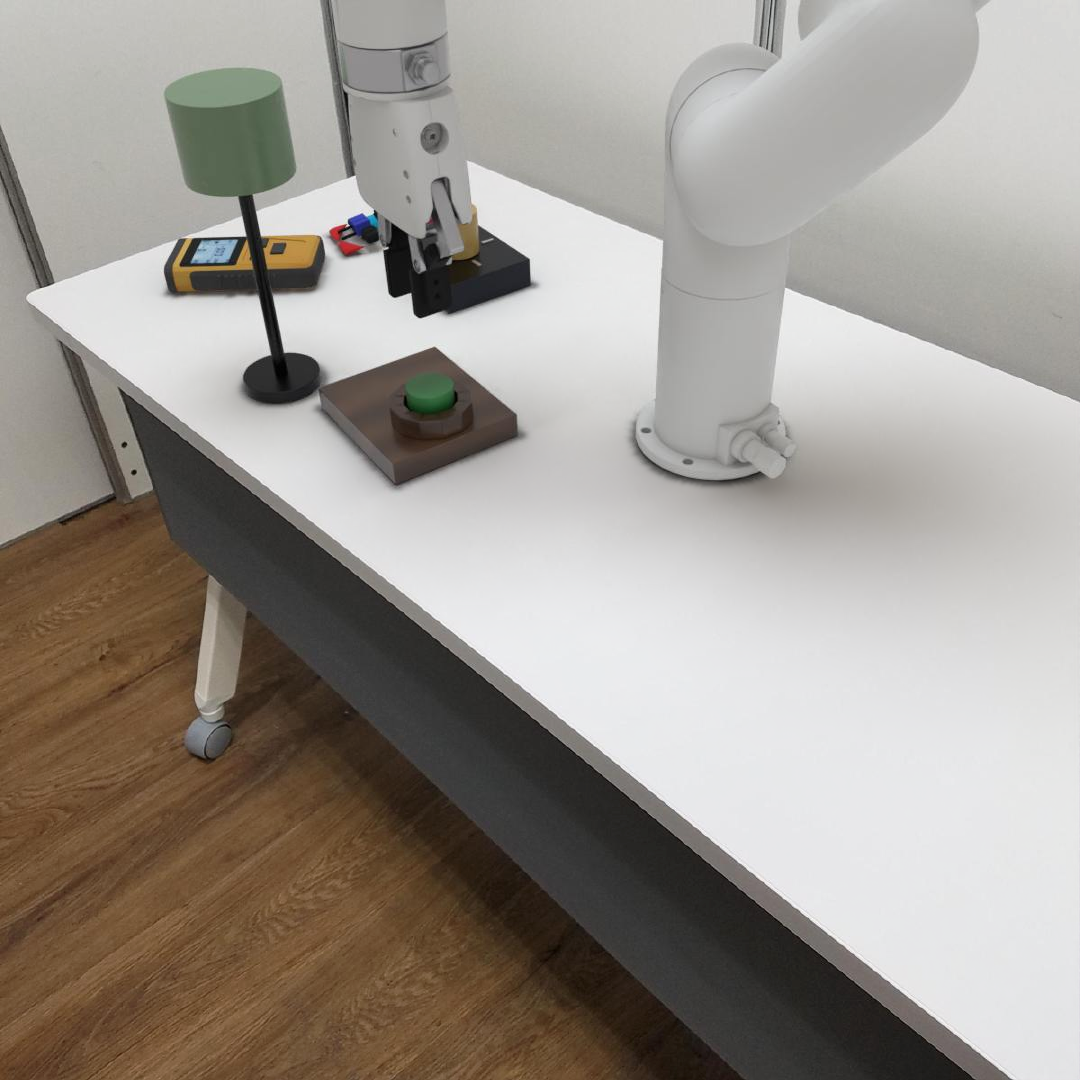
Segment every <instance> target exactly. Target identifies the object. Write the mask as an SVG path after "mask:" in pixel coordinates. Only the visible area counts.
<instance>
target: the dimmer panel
mask: <svg viewBox="0 0 1080 1080" xmlns="http://www.w3.org/2000/svg"><path fill="white" fill-rule="evenodd" d="M478 234H479V252H478V254H477V255H475V256H474V257H471V258H468V259H464V260H452V263H451V264H449V270H450V282H451V293H452V306H451V308H449V309H447V310H444V311H445V312H446V313H447V314H451V313H455V312H457V311H460V310H464V309H467V308H469V307H472V306H475V305H478V304H480V303H485V302H486V301H489V300H493V299H496V298H498V297H501V296H504V295H507V294H510V293H513V292H516V291H519V290H522V289H524V288H527V287H530V286H532V284H531V283H532V280H531V275H532V274H531V259H530V257H528V256H526V255H524V254H523V253H522V252H520V251H518V250H517V249H516V248H513V246H511V245H509V244H508V243H506V242H505V241H504V240H502V239H500V238H498V237H497V236H495V235H494V234H492V233H491V232H490V231H488V230H486V229H485V228H483V227H482V226H481V225H479V224H478ZM435 242H436V238H435V236H432V237H429V238H426V239H422V243H423V249H424V250H425V248H426V247H427V246H428V245H429V244H432V243H435Z"/></svg>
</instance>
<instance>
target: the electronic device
mask: <svg viewBox="0 0 1080 1080" xmlns="http://www.w3.org/2000/svg"><path fill="white" fill-rule="evenodd" d="M261 239H262V244H263V249H264V254H265V259H266V264H267V269H268V274H269V279H270V284H271V289H272V290H293V289H311V288H313V287H315V286H316V285H317V284H318V282H319V278H320V275H321V272H322V268H323V265H324V261H325V258H326V248H325V243H324V241H323V240H324V239H323V238H322V236H320V235H316V234H288V235H286V234H285V235H284V234H283V235H261ZM163 275H164V280H165V284H166V287H167V289H168V291H169V292H171V293H178V292H179V293H183V292H184V293H185V292H218V291H220V292H223V291H224V292H225V291H258V290H257V285H256V280H255V276H254V271H253V266H252V261H251V256H250V252H249V247H248V242H247V237H246V235H245V236H244V235H243V236H213V237H181V238H178V240H177V241H176V243H175V245H174V247H173V248H172V250H171V253H170V255H169V256H168V257H167V259H166V262H165V264H164V267H163Z"/></svg>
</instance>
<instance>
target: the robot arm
mask: <svg viewBox="0 0 1080 1080" xmlns="http://www.w3.org/2000/svg"><path fill="white" fill-rule="evenodd" d="M991 1H992V0H799V6H798V11H797V27H798V35H799V38H800V42H799V43H798V44H796V45H795V46H794V47H793V48H792V49H790V50H789V51H788V52H787V53H786V54H785V55H783V56H782V57H781V58H780V57H778V56H777V55H776V54H775V53H773V52H771V51H770V50H768V49H766V48H764V47H761V46H759V45H756V44H752V43H746V42H732V43H726V44H721V45H717V46H716V47H715V46H714V47H712V48H710V49H709V50H706V51H704V52H703V53H701V54H700V55H699V56H698V57H696V58H695V59H694V60H693V61H692V62H691V63H689V65H688V66H687V67H686V68H685V69H684V70H683V72H682V73H681V75H680V76H679V78H678V79H677V81H676V83H675V85H674V88H673V89H672V91H671V95H670V96H669V100H668V106H667V109H666V114H665V115H666V116H665V123H664V196H663V197H664V199H663V200H664V201H663V203H664V204H663V206H664V207H663V230H662V231H663V233H662V234H663V236H662V239H663V240H662V257H661V258H662V259H661V269H660V270H661V271H660V287H659V289H660V291H659V312H658V335H657V353H656V354H657V355H656V376H655V377H656V379H655V398H654V399H653V400H650V402H648V403H647V404H646V405H645V406H644V407H643V408H642V409H641V410H640V412H639V414H638V416H637V418H636V423H635V440H636V442H637V445H638V447H639V449H640V451H642V453H643V455H645V456H646V457H647V458H648V459H649V460H650V461H651V462H652V463H654V464H656V465H657V466H659V467H660V468H661V469H664V470H666V471H669V472H670V473H673V474H676V475H680V476H683V477H686V478H692V479H695V480H696V479H697V480H706V481H707V480H708V481H724V480H726V481H727V480H735V479H739V478H745V477H748V476H750V475H753V474H757V473H759V472H760V473H762V474H764V475H765V476H766V477H768V478H769V479H772V480H774V479H776V478H778V477H779V476H781V474H782V473H784V470H785V469H786V466H787V459H786V458H790V457H791V456H793V454H794V453H795V452H796V450H797V443H796V442H795V441H793V440H792V439H790V438H789V437H787V436H786V435H787V430H786V424H785V423H784V420H783V418H782V417H781V415H780V407H778V406H777V405H776V404H774V403H773V402H772V396H773V395H772V394H773V387H774V379H775V370H776V363H777V355H778V347H779V339H780V331H781V324H782V323H781V322H782V316H783V315H782V314H783V309H784V308H783V307H784V300H785V299H784V298H785V292H786V290H785V289H786V282H787V278H788V273H789V266H790V265H789V264H790V256H791V249H792V236H793V232H794V231H795V230H797V229H799V228H801V227H802V226H804V225H805V224H807V223H808V222H809V221H811V220H813V218H815V217H816V216H818V215H819V214H821V213H822V212H824V211H825V210H826V209H828V208H829V207H830V206H831V205H833V204H834V203H836V202H838V200H840V199H841V198H842V197H844V196H845V195H846V194H848V193H849V192H850V191H852V190H853V189H855V188H856V187H857V186H858V185H860V184H862V182H864V181H866V180H867V179H868V178H869V177H871V176H872V175H873V174H875V173H876V172H878V171H879V170H881V168H883V167H884V166H885V165H887V164H888V163H890V162H891V161H892V160H893V159H895V158H896V157H898V156H899V155H900V154H901V153H903V152H904V151H906V150H907V149H908V148H910V147H911V146H912V145H913V144H914V143H916V142H917V141H918V140H920V139H921V138H922V137H923V136H925V135H926V134H927V133H928V132H929V131H931V130H932V129H933V128H934V127H935V126H936V125H937V124H938V123H940V121H941V120H942V119H943V118H944V117H945V116H946V115H947V113H948V112H949V111H951V109H952V107H953V106H954V105H955V104H956V102H957V101H958V100H959V98H960V96H961V95H962V93H963V92H964V90H965V88H966V87H967V85H968V83H969V82H970V79H971V77H972V75H973V72H974V70H975V66H976V63H977V59H978V54H979V47H980V29H979V22H978V18H977V14H976V13H978V12H979V11H980V10H981V9H983V8H984V7H985V6H986V5H987V4H989V3H990V2H991ZM330 2H331V3H330V4H331V10H332V15H333V16H332V17H333V25H334V31H335V39H336V40H335V41H336V47H337V55H338V62H339V68H340V77H341V84H342V88H343V92H345V93H346V94H347V100H348V101H347V102H348V103H347V104H348V121H349V133H350V145H351V153H352V162H353V167H354V168H353V169H354V175H355V180H356V185H357V189H358V193H359V195H360V198H361V199H362V200H363V201H364V202H365V203H366V205H368V206H369V207H370V208H371V209H373V213H372V214H374V217H375V218H376V219H377V221H378V232H379V243H380V245H381V247H382V248H383V250H382V253H383V261H384V262H383V263H384V269H385V277H386V285H387V286H386V287H387V293H388V295H389V296H391V298H393V299H397V298H400V297H404V296H406V295H409V294H410V296H411V304H412V312H413V315H414V316H415V317H416V318H418V319H423V318H426V317H430V316H433V315H435V314H438V313H441V312H444V311H445V310H447V309H449V308H451V306H452V293H451V282H450V270H449V264H451V263H452V255H453V254H456V253H459V252H461V251H463V250H464V244H463V241H462V237H461V234H460V231H459V228H458V225H457V223H458V224H460V225H468V224H470V222H471V220H472V204H473V203H472V193H471V183H470V175H469V168H468V166H469V165H468V159H467V152H466V145H465V140H464V133H463V129H462V123H461V118H460V114H459V109H458V105H457V102H456V98H455V94H454V90H453V89H452V88H451V86H450V85H451V82H452V72H451V71H452V70H451V60H450V47H449V46H450V45H449V33H448V21H447V20H448V19H447V7H446V0H330ZM430 220H433V223H430V224H427V225H426V223H428V222H429V221H430ZM432 236H435V238H436V242H435V243H432V244H429V245H428V246H427V247H426V248H425V250H424V249H423V243H422V239H426V238H429V237H432Z"/></svg>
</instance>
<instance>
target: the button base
mask: <svg viewBox="0 0 1080 1080" xmlns="http://www.w3.org/2000/svg"><path fill="white" fill-rule="evenodd" d="M424 373H440V374H444V375H446V376H448V377H449V378H450V379H451V380H452V381H453V386H454V397H455V403H454V405H453V407H452V408H451V409H448V410H446V411H443V412H441V413H438V414H420V413H416V412H412V411H411V410H410V409H409V408H408V405H407V397H406V389H405V387H406V384H407V382H408V381H409V380H410V379H411V378H413V377H415V376H417V375H420V374H424ZM317 389H318V394H319V395H318V396H319V401H320V405H321V406H320V407H321V410H323V411H324V412H325V413H326V414H327V416H329V417H330V418H331V420H332V421H333V422H335V424H336V425H337V426H338V427H339V428H340V429H341V430H342V431H343V432H344V433H345V434H346V435H347V436H348V437H349V438H350V439H351V440H352V441H353V442H354V443H355V444H356V445H357V446H358V448H359V449H360V450H361V451H362V452H363V453H364V454H365V455H366V456H367V457H368V458H369V459H370V460H371V461H372V462H373V463H374V464H375V465H376V466H377V467H378V468H379V469H380V470H381V472H383V473H384V474H385V475H386V476H387V478H389V479H390V480H391V481H392V482H393V484H394V485H399V484H401V483H404V482H407V481H410V480H412V479H414V478H416V477H419V476H421V475H423V474H427V473H429V472H431V471H434V470H436V469H438V468H441V467H443V466H446V465H449V464H450V463H453V462H455V461H458V460H460V459H463V458H465V457H468V456H470V455H473V454H476V453H477V452H478V453H479V452H480V451H482V450H485V449H488V448H490V447H493V446H494V445H497V444H500V443H502V442H504V441H507V440H509V439H512V438H516V437H517V436H518V435H519V432H518V431H519V430H518V429H519V428H518V414H517V413H516V412H514V411H513V410H512V409H511V408H510V407H508V405H506V404H505V403H504V402H503V401H501V400H500V398H498V397H496V396H495V395H494V394H493V393H492V392H491V391H490V390H489V389H487V388H486V387H485V386H483V385H482V384H481V383H480V382H479V381H477V380H476V379H475V378H473V376H471V375H470V374H469V373H468V372H467V371H466V370H464V369H463V368H461V366H460V365H458V364H457V363H455V362H454V360H452V359H451V358H450V357H449V356H447V355H446V354H445V353H443V352H442V351H441V350H440V349H438V347H436V346H432V347H429V348H426V349H424V350H421V351H418V352H415V353H413V354H410V355H407V356H405V357H401V358H398V359H395V360H393V361H390V362H387V363H384V364H382V365H379V366H376V367H374V368H371V369H367V370H364V371H362V372H359V373H357V374H354V375H350V376H348V377H345V378H343V379H340V380H337V381H334V382H331V383H328V384H326V385H322V386H319V387H318V388H317Z"/></svg>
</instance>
